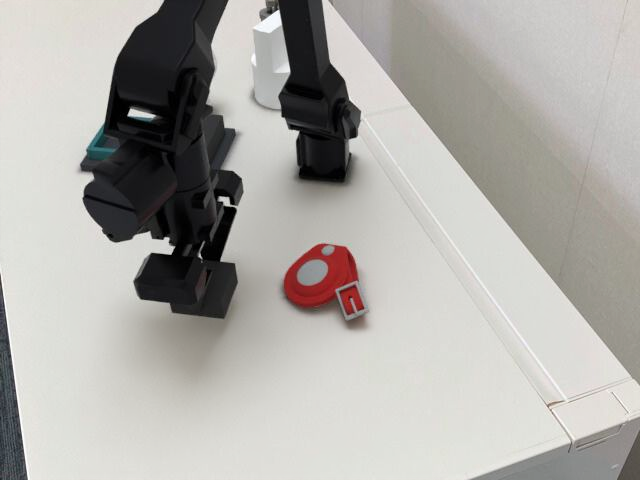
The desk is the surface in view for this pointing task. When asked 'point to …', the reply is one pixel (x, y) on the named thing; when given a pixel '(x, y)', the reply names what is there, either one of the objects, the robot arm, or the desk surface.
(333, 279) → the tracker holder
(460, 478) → the desk surface
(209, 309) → the black block
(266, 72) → the base with upright slab
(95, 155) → the black teal stepped tray
